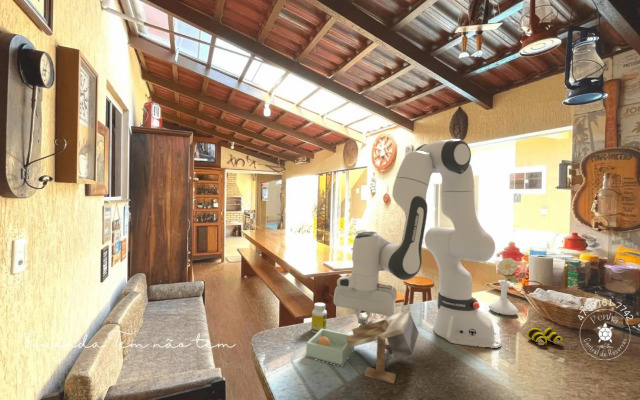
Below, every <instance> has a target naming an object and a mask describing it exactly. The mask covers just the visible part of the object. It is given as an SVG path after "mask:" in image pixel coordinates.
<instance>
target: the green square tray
mask: <svg viewBox="0 0 640 400" xmlns="http://www.w3.org/2000/svg"><path fill="white" fill-rule="evenodd" d="M350 335H351V334H348V333H345V332H340V331H335V330H330V329H327V328H326V329H321V330H320V331H319V332H317V333H314V335H313V336H312V337H311V338H310V339H309V340H308V341H307V342H306V349H305V350H306V352H305V353H306V354H305V357H306V358H308V359H311V358H312V359H311V360H314V359H317V360H316V361H318V360H320V361H319V362H322V361H324V362H323V363H326V362H328V363H327V364H329V363H332V364H331V365H333V364H335V365H334V366H337V365H339V366H338V367H340V366H342V365H343V366H344V364H346V362H345V361H347V360H348V359H349V357H350V355H351V354H352V353H353V352H352V351H354V350H355V346H354V347H350V348H349V347H348V345H347V340H346V337H347V336H350ZM323 336H325V337H327V338H328V339H329V341H330V346H329V347H327V346H323V345H319V344H317V342H318V339H319V338H320V337H323ZM351 352H352V353H351ZM347 358H348V359H347ZM343 366H342V367H343Z"/></svg>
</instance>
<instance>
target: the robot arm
mask: <svg viewBox="0 0 640 400" xmlns="http://www.w3.org/2000/svg"><path fill="white" fill-rule="evenodd" d="M471 158H472V152H471V149H470V146H469V144H468V143H467V142H466V141H465V140H462V139H459V138H458V139H457V138H451V139H442V140H437V141H434V142H430V143H425V144H424V143H423V144H422V145H419V146H418V147H416V149H414V150H413V151H409V152H407V153H406V154H405V156H404V158H403V159H402V161H401V164H400V166H399V169H398V170H397V173H396V176H395V179H394V183H393V187H392V194H391V195H392V199H393V200H394V202H395V203H396V205H398V206H399V207H400V208H401V210H402V211H403V213H404V216H405V217H404V218H405V222H404V226H403V232H402V237H401V242H400V243H396V242H393V241H391V240H388V239H386V238H385V237H383V236H382V235H380V234H379V233H378V232H376V231H362V232H360V233H358V234H356V236H355V237H354V239H353V245H352V253H351V254H352V255H351V257H352V258H351V259H352V268H351V273H350V274H345V275H342V276H340V277H339V278H338V279H337V280H336V284H337V285H336V287H335V288H334V293H333V303H334V305H335V306H336V307H340V308H346V309H351V310H354V313H355V315H356V318H357V324H359V325H360V324H364V325H367V324H368V322H369V319H370V317H371V315H372V314H377V315H382V316H385V317H388V316H392V315H393V314H396V299H397V297H398V296H397V295H398V294H397V289H396V288H395V287H393V285H389V284H388V285H386V284H382V283H379V280H380V279H379V278H380V277H379V275H380V271H381V270H384V271H386V272H387V273H390V274H392V275H393V276H394V277H396V278H398V279H399V280H402V281H407V280H411V279H413V278H415V276H417V274H419V272H420V270H421V267H422V263H423V262H422V258H423V257H422V247H423V242H424V244H425V247H426V249H427V250H428V251H429V252H430V253H431V254H432V256H433V257H434V260H435V262H436V266H437V268H438V273H439V274H438V275H439V287H438V288H439V291H438V294H437V299H436V301H437V302H436V305H437V312H436V314H437V315H436V318H435V323H434V325H433V328H432V330H433V332H434V333H435V334H436V335H438V336H439V337H442V338H444V339H445V340H447V341H448V342H449V343H452V344H455V345H463V346H471V347H477V346H478V347H479V348H485V347H491V348H490V349H492V348H498V347H500V345H501V346H502V340H501V337H500V335H499V334H497V332H495V328H494V324H493V322H492V321H491V319H490V318H489V317H488V316H487V315H486V314H485V313H483V312H482V311H481V310H479V309H480V303H479V302H478V300H477V298H476V297H473V277H472V274H471V272H470V271H468V270H467V269H466V268H465V267H464V266H463V264H462V262H461V260H464V261H469V262H477V263H479V262H482V263H483V262H488V261H489V260H490V259H491V258H493V256H494V254H495V252H496V243H495V240H494V238H493V237H492V236H491V235H490V234H489V233H488V231H486V230H485V229H484V228H483V227H482V225H481V223H480V222H479V220H478V217H477V214H476V202H475V178H474V172H473V168H472V167H473V166H472V165H471V163H470V162H471ZM438 173H439V174H440V176H441V195H440V196H441V197H440V198H441V199H440V201H441V204H440V205H441V212H442V214H443V216H445V217H447V218H448V219H449V220H450V222H452V225H453V227H449V226H435V227H430V228H429V229H428V230H427V231H426V233H425V228H426V223H427V218H428V217H427V216H428V204H427V193H428V188H429V185H430V181H431V176H432V174H438ZM424 235H425V236H424ZM423 240H424V241H423ZM361 312H365V314H366V315H367V316H366V317H365V316H362V315H361ZM500 348H501V347H500ZM498 349H499V348H498Z"/></svg>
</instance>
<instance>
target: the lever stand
mask: <svg viewBox="0 0 640 400" xmlns="http://www.w3.org/2000/svg"><path fill="white" fill-rule="evenodd" d="M395 314H396V313H394V314H393V315H395ZM376 344H377V345H376V364H375V365H376V367H375V368H374V367H369V366H367V367H366V369H365V371H364V376H365V377H369V378H372V379H376V380H379V381H384V382H387V383H391V384H395V380H396V378H397V377H396V375H397V374H396V373H392V372H389V371H385V368H386V367H385V361H386V348H387V349H390V350H391V347H390V345H389V343H388V340H387V338H386V337H381V336H378V338H377V341H376Z"/></svg>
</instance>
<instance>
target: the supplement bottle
mask: <svg viewBox="0 0 640 400" xmlns="http://www.w3.org/2000/svg"><path fill="white" fill-rule="evenodd" d="M313 305H314V306H313V307H314V308H313V310H312V311H311V328H310V329H311V332H312V333H314V334H316V333H317V332H319V331H320V330H321V329H327V317H328V312H327V310H326V303H324V302H315V303H314V304H313Z"/></svg>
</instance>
